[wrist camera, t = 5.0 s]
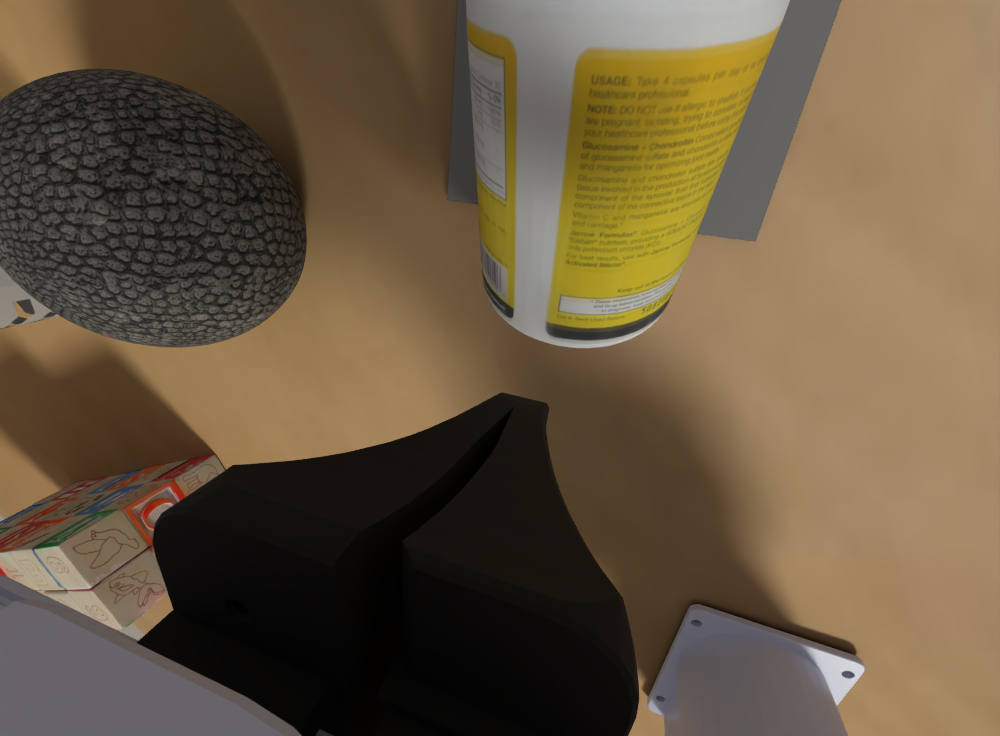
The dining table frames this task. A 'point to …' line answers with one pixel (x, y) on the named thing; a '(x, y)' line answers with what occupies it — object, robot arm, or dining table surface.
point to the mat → (756, 141)
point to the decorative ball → (144, 209)
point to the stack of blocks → (100, 540)
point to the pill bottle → (603, 150)
